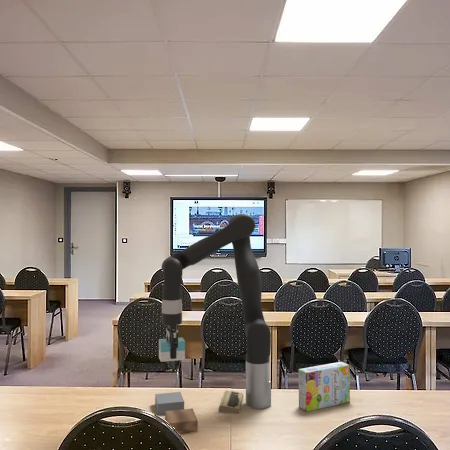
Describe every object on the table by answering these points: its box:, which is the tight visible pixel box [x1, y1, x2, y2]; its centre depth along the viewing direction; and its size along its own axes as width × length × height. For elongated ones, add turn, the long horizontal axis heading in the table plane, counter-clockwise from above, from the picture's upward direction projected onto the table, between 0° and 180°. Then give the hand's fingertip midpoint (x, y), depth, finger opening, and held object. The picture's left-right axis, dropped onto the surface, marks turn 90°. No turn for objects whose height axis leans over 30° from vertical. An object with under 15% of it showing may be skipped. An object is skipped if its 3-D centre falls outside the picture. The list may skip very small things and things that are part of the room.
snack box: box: [297, 361, 351, 412], centre depth 175 cm, size 21×6×15 cm, turn 115°
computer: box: [218, 389, 244, 414], centre depth 176 cm, size 16×8×3 cm, turn 172°
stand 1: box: [154, 391, 185, 416], centre depth 172 cm, size 10×10×4 cm
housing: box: [158, 337, 186, 363], centre depth 167 cm, size 9×6×7 cm, turn 106°
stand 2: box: [164, 408, 199, 435], centre depth 156 cm, size 10×10×4 cm
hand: (172, 355), depth 167 cm, fingers closed on housing, 5 cm apart
